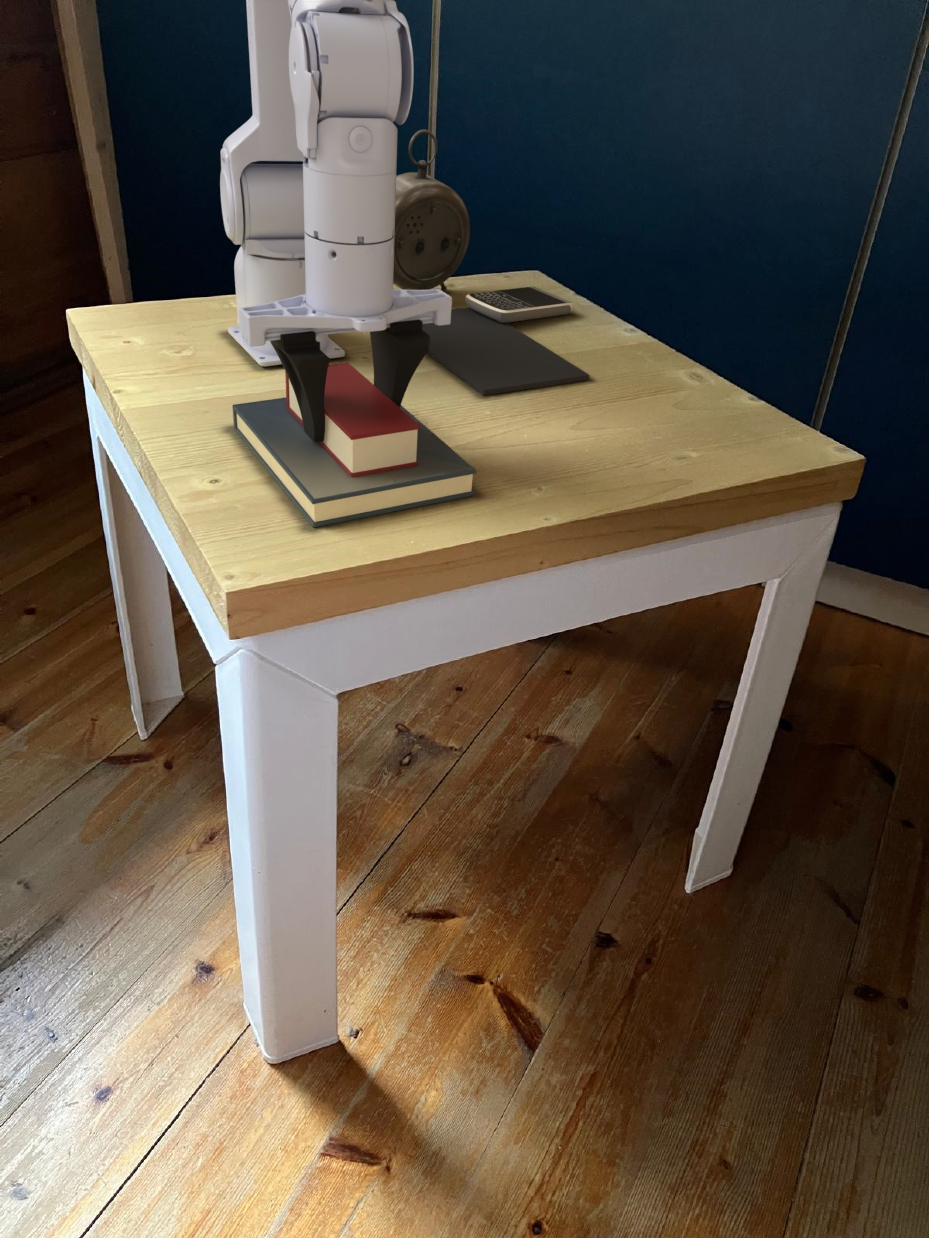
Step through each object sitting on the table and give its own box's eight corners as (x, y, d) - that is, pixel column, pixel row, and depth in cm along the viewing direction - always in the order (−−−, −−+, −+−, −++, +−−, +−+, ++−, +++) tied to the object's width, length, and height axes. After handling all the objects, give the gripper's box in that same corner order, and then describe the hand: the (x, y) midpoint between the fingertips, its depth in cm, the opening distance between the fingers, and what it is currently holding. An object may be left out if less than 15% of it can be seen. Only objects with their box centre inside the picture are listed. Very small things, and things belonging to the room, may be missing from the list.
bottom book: (233, 429, 75) (232, 404, 73) (377, 408, 80) (377, 384, 79) (313, 527, 63) (312, 500, 62) (473, 495, 69) (476, 469, 67)
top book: (286, 408, 74) (285, 370, 72) (347, 399, 76) (347, 362, 74) (351, 477, 65) (351, 436, 63) (418, 465, 67) (420, 425, 66)
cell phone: (459, 308, 100) (461, 294, 100) (537, 298, 107) (539, 285, 106) (499, 326, 97) (501, 312, 96) (577, 315, 103) (579, 302, 102)
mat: (383, 321, 97) (383, 316, 97) (479, 310, 102) (479, 306, 102) (483, 395, 83) (483, 390, 83) (588, 380, 88) (589, 374, 88)
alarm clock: (446, 285, 108) (455, 123, 99) (472, 300, 105) (485, 133, 95) (358, 296, 103) (359, 126, 94) (382, 311, 100) (387, 136, 90)
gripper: (261, 258, 56) (271, 470, 64) (479, 242, 63) (464, 438, 70) (223, 227, 61) (237, 428, 69) (428, 215, 68) (420, 401, 75)
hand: (349, 430), depth 70 cm, fingers closed on top book, 5 cm apart
